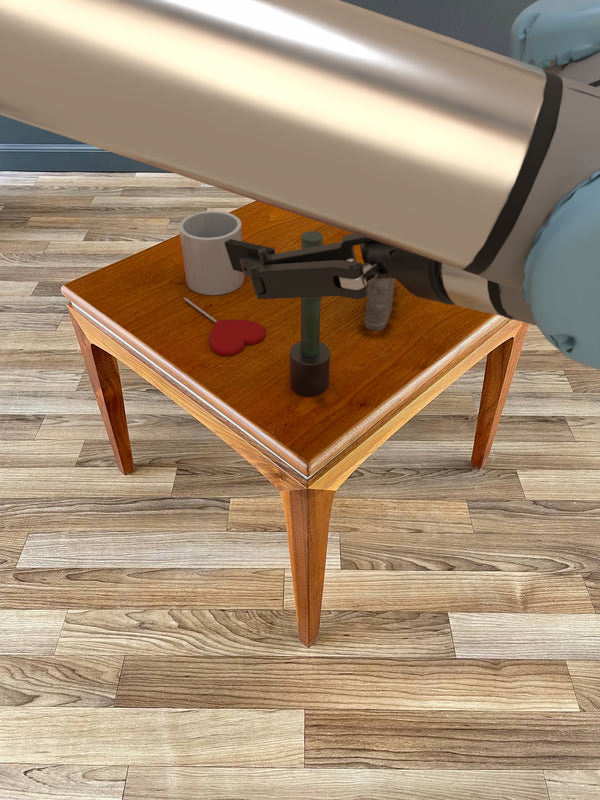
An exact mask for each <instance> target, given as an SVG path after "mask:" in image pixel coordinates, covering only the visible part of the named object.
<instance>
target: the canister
mask: <svg viewBox="0 0 600 800" xmlns="http://www.w3.org/2000/svg"><path fill="white" fill-rule="evenodd" d="M178 231H179V239H180V246H181V253H182V260H183V261H182V262H183V270H184V276H185V282H186V285H187V287H188V288H189V289H190V290H191V291H193V292H195V293H197V294H201V295H206V296H222V295H226V294H229V293H232V292H234V291H237V290H238V289H239V288H240V287H242V286H243V284H244V282H245V275H244V273H243V272H239V271H236V270H233V268H232V265H231V262H230V259H229V256H228V253H227V250H226V247H225V244H224V242H226V241H228V240H230V239H233V240H237V241H242V242H244V241H243V226H242V221H241V219H240V218H239V217H237V216H236V215H235V214H233V213H230V212H226V211H221V210H204V211H198V212H194V213H192V214H190V215H188V216H186V217H184V218H183V219H182V220H181V221H180V222H179V224H178Z"/></svg>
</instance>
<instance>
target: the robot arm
mask: <svg viewBox="0 0 600 800" xmlns="http://www.w3.org/2000/svg"><path fill="white" fill-rule="evenodd" d="M509 43H510V57H509V56H506V55H502V54H500V53H497V52H494V51H491V50H488V49H485V48H482V47H479V46H476V45H473V44H471V43H467V42H464V41H461V40H458V39H456V38H453V37H449V36H447V35H443V34H441V33H437V32H434V31H432V30H429V29H426V28H423V27H420V26H417V25H414V24H411V23H408V22H405V21H403V20H399V19H396V18H394V17H390V16H387V15H385V14H381V13H378V12H375V11H373V10H370V9H366V8H363V7H361V6H357V5H355V4H351V3H349V2H347V1H343V0H0V116H2V117H6V118H8V119H12V120H14V121H18V122H19V123H20V122H21V123H24V124H26V125H30V126H32V127H34V128H35V127H36V128H39V129H41V130H44V131H48V132H51V133H53V134H56V135H59V136H62V137H65V138H68V139H71V140H74V141H77V142H81V143H82V144H86V145H89V146H93V147H95V148H98V149H101V150H104V151H107V152H110V153H113V154H116V155H119V156H122V157H125V158H128V159H131V160H134V161H137V162H140V163H143V164H146V165H149V166H152V167H155V168H158V169H162V170H164V171H166V172H170V173H172V174H176V175H179V176H182V177H185V178H188V179H191V180H193V181H196V182H198V183H199V182H200V183H202V184H205V185H207V186H211V187H214V188H218V189H221V190H224V191H226V192H230V193H233V194H235V195H239V196H241V197H243V198H244V197H245V198H248V199H250V200H253V201H257V202H259V203H262V204H265V205H268V206H271V207H275V208H277V209H280V210H284V211H286V212H290V213H292V214H295V215H298V216H301V217H303V218H307V219H311V220H313V221H315V222H316V221H317V222H320V223H322V224H325V225H328V226H331V227H334V228H337V229H339V230H343V231H346V232H349V233H350V234H345V235H344V236H343V238H342V240H340V241H339V242H334V243H333V242H332V243H328V244H323V245H322V246H316V247H311V248H305V249H301V248H300V249H293V250H288V251H283V252H278V253H276V250H275V248H274V247H271V246H265V245H260V244H255V243H250V242H246V241H243V242H242V241H237V240H233V239H230V240H228V241H226V242H224V244H225V247H226V250H227V253H228V256H229V259H230V262H231V265H232V268H233V270H236V271H239V272H243V273H244V277H248V278H250V281H251V284H252V288H253V290H254V294H255V297H256V299H258V300H271V299H272V300H273V299H274V300H275V299H297V298H300V299H301V297H321V298H322V297H326V298H327V297H341V298H348V299H353V300H360V299H363V298H367V295H368V283H369V282H370V281H371V280H373V279H374V278H377V279H384V278H395V281H397V282H399V283H400V284H401V285H402V287H404V288H405V290H407V291H408V292H409V293H410V294H411V295H413V296H414V297H417V298H420V299H425V300H429V301H433V302H437V303H441V304H445V305H450V306H455V305H456V306H457V307H460V308H465V309H469V310H474V311H478V312H482V313H487V314H490V315H496V316H500V317H504V318H506V319H509V320H512V321H517V322H521V323H525V324H528V325H533V326H536V327H537V328H538V330H539V331H540V332H541V333H542V335H543V336H544V338H545V339H546V340H547V341H548V342H549V343H550V344H552V346H553V347H554V348H556V349H557V350H558V351H559V352H561V354H562V355H563V356H564V357H566V358H567V359H569V360H571V361H573V362H575V363H577V364H580V365H582V366H584V367H587V368H591V369H594V370H598V371H600V0H537V1H534V2H533V3H532V4H530V5H529V6H527V7H526V8H524V9H523V10H522V11H521V12H520V13H519V15H517V16H516V18H515V20H514V21H513V24H512V26H511V28H510V34H509ZM354 246H359V249H360V254H361V259H362V261H363V263H361V262H359V261H357V257H356V252H355V248H354Z"/></svg>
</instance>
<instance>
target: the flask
mask: <svg viewBox="0 0 600 800" xmlns="http://www.w3.org/2000/svg"><path fill="white" fill-rule="evenodd" d="M395 284H396V279H395V278H384V279H377V278H374V279H373V280H371V281H370V282H369V283H367V291H368V295H367V296H366V305H365V316H364V326H365V328H366V329H367V330H370V331H373V332H378V331H382V330H384V329H385V328H386V326H387V324H388V321H389V320H390V316H391V314H392V309H393V301H394V294H395V286H396V285H395Z"/></svg>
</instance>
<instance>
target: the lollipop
mask: <svg viewBox="0 0 600 800" xmlns="http://www.w3.org/2000/svg"><path fill="white" fill-rule="evenodd" d="M183 300H184V301H185V302H186V303H188V304H189V305H190V306H192V307H193V308H194V309H196V310H197V311H199V312H200V313H201V314H203V315H204V316H205V317H207V318H208V319H209V320H211V321H212V322H213V326H212V327H211V329H210V332H209V336H208V344H209V347H210V349H211V350H212V352H214V353H215V354H216V355H219V356H223V357H231V356H235V355H238V354H239V353H241V352H242V351H243V349H245V346H246V345H247V346H253V345H257V344H259V343H261V342H262V341H264V339H265V338H266V336H267V330H266V329H265V327H264V326H263V325H262V324H260V323H259V322H256V321H253V320H247V319H219V320H216V319H215V318H214V317H212V316H211V315H210V314H208V313H207V312H205V310H203V309H202V308H200V307H199V306H197V305H196V304H195V303H194V302H192V301H191V300H190V299H188V298H186V297H184V298H183Z"/></svg>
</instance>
